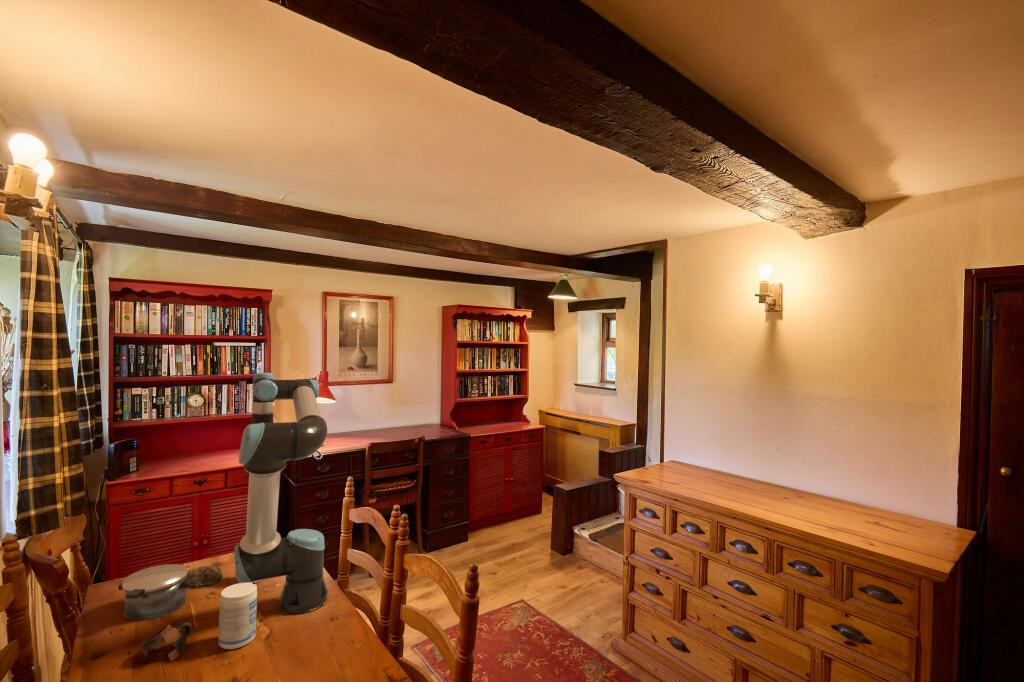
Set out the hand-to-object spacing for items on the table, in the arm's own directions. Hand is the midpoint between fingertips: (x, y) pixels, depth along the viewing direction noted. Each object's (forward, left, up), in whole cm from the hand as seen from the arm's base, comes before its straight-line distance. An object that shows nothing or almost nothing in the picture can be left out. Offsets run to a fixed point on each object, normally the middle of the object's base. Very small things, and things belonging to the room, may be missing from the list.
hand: (260, 473), depth 185 cm
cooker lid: (-12, +33, -27) cm, 45 cm away
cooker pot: (-10, +32, -36) cm, 49 cm away
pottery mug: (-40, +32, -37) cm, 63 cm away
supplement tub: (-46, +16, -37) cm, 61 cm away
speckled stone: (+2, +17, -37) cm, 41 cm away
